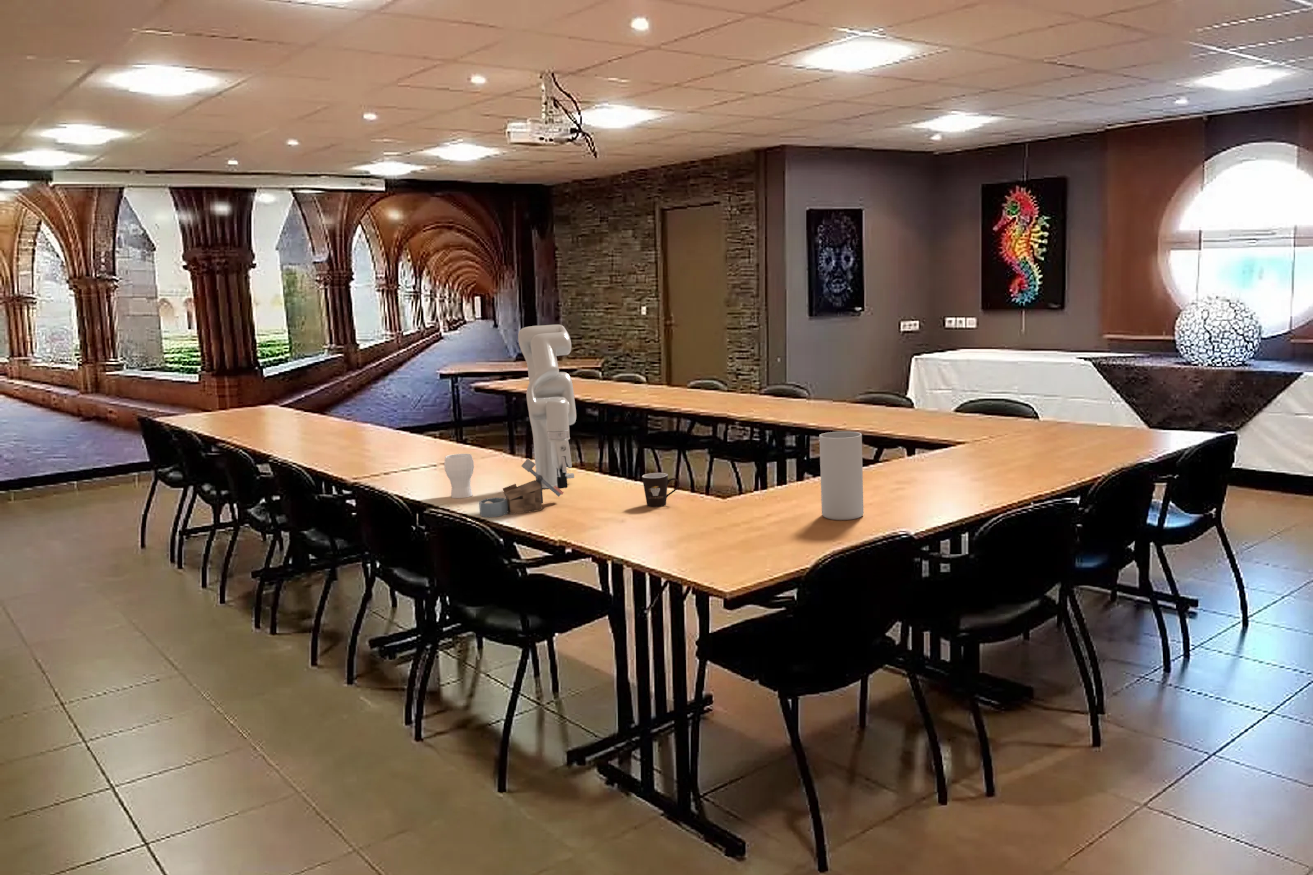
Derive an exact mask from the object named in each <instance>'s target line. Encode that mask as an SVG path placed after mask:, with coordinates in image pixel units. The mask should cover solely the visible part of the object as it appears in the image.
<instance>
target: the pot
mask: <svg viewBox="0 0 1313 875" xmlns="http://www.w3.org/2000/svg"><path fill="white" fill-rule="evenodd" d="M487 501H491V502H492V503H485V502H487ZM478 509H479V515H480V516H481V517H482V518H493V517H494V518H495V517H502V516H504V515H507V514H509V512H508V505H507V500H506V497H490V498H485V499H482V500H479V501H478Z"/></svg>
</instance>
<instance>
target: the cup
mask: <svg viewBox="0 0 1313 875" xmlns="http://www.w3.org/2000/svg"><path fill="white" fill-rule="evenodd" d="M474 465H475V464H474V459H473V455H472V454H471V453H454V454H448V455H446V456H444V463H443V467H444V472H445V474H446V476H447V478H448V480H449V481H450V485H451V486H450V487H451V494H450V498H452V499H463V498H470V497H471V496H473V492H472V491H473V490H472V487H471V478H472V476H473V474H474V468H475V466H474Z"/></svg>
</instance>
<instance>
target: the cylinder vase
mask: <svg viewBox="0 0 1313 875" xmlns="http://www.w3.org/2000/svg"><path fill="white" fill-rule="evenodd" d="M818 438H819V465H820V490H821V491H820V496H821V497H820V498H821V499H820V501H821V516H823V517H824V518H825V519H829V520H833V521H849V520H850V521H851V520H856V519H860V518H861V517H863V516H864V480H863V478H864V476H863V435H862V433H861V432H856V431H832V432H831V431H830V432H829V431H828V432H825V433H821V434H819V437H818Z"/></svg>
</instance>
